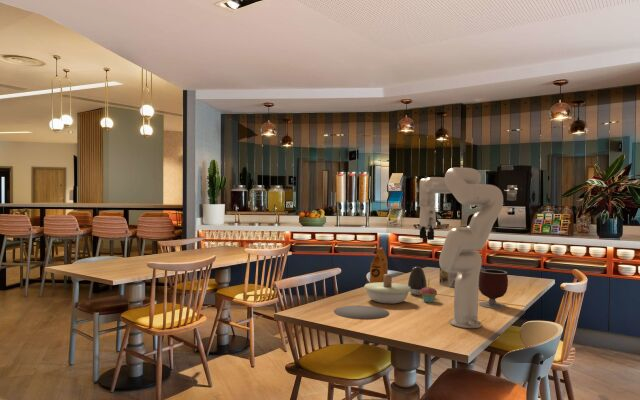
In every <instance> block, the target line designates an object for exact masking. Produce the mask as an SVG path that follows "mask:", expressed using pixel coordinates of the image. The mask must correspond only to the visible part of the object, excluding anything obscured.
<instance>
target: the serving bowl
mask: <svg viewBox="0 0 640 400" xmlns="http://www.w3.org/2000/svg"><path fill="white" fill-rule="evenodd" d="M366 293H367V295H368V297H369V299H371V300H372V301H374V302H376V303H381V304H388V305H389V304H393V305H394V304H398V303H402V302H403V301H405V300H406V299H407V297H408V295H409V292H406V293H397V294H389V293H378V292H372V291H368V290H366Z"/></svg>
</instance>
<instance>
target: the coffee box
mask: <svg viewBox="0 0 640 400" xmlns="http://www.w3.org/2000/svg"><path fill="white" fill-rule="evenodd" d="M457 275H458V272H445V271H443V270H442V269H441V267H440V266H439V283H438V284H439V285H442V286H445V287H447V288H455V279H456V277H457Z"/></svg>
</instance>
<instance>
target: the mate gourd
mask: <svg viewBox="0 0 640 400" xmlns="http://www.w3.org/2000/svg"><path fill="white" fill-rule="evenodd" d="M508 286H509V279H508V272H507V271H505V270H500V269H488V268H487V269H485V268H484V267H482V266H481V269H480V273H479V287H478V291H479V292H480V293H481V295H483V296H485V297H486V298H489V300H488V301H480V302H478V306H480V307H483V308H486V309H494V310H496V309H497V310H500V309H502V308H503V309H506V304H504V303H501V302H497V300H496V299H498V298H502V297H504V296H505V294H506V293H507V290H508ZM503 309H502V310H503Z"/></svg>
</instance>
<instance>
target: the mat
mask: <svg viewBox="0 0 640 400" xmlns="http://www.w3.org/2000/svg"><path fill="white" fill-rule="evenodd" d="M333 313H334V314H335V315H336V316H339V317H341V318H346V319H353V320H362V321H363V320H369V321H370V320H379V319H385V318H388V317H389V316H390V312H389V311H388V310H386V309H384V308H382V307H376V306H370V305H343V306H339V307H337V308H335V309H334V310H333Z"/></svg>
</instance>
